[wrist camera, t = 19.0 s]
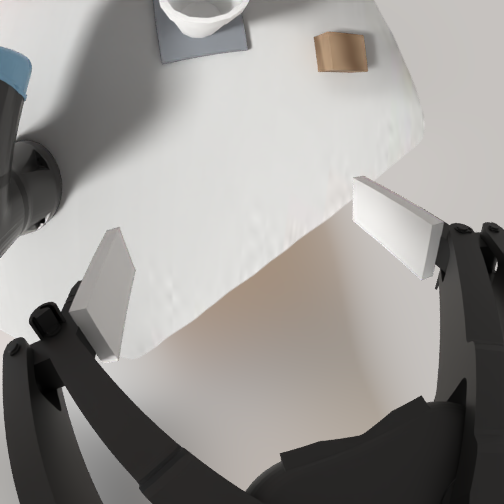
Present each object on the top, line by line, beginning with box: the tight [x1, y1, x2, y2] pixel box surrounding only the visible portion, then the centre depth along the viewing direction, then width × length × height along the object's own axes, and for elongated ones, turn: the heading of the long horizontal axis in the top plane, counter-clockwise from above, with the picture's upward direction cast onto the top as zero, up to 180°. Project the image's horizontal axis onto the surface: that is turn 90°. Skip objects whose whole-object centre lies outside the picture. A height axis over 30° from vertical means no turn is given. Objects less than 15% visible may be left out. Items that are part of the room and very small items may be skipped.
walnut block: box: [314, 32, 368, 73], centre depth 34 cm, size 6×6×5 cm
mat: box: [153, 0, 248, 64], centre depth 29 cm, size 12×12×1 cm
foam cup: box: [159, 0, 249, 38], centre depth 24 cm, size 10×9×13 cm
